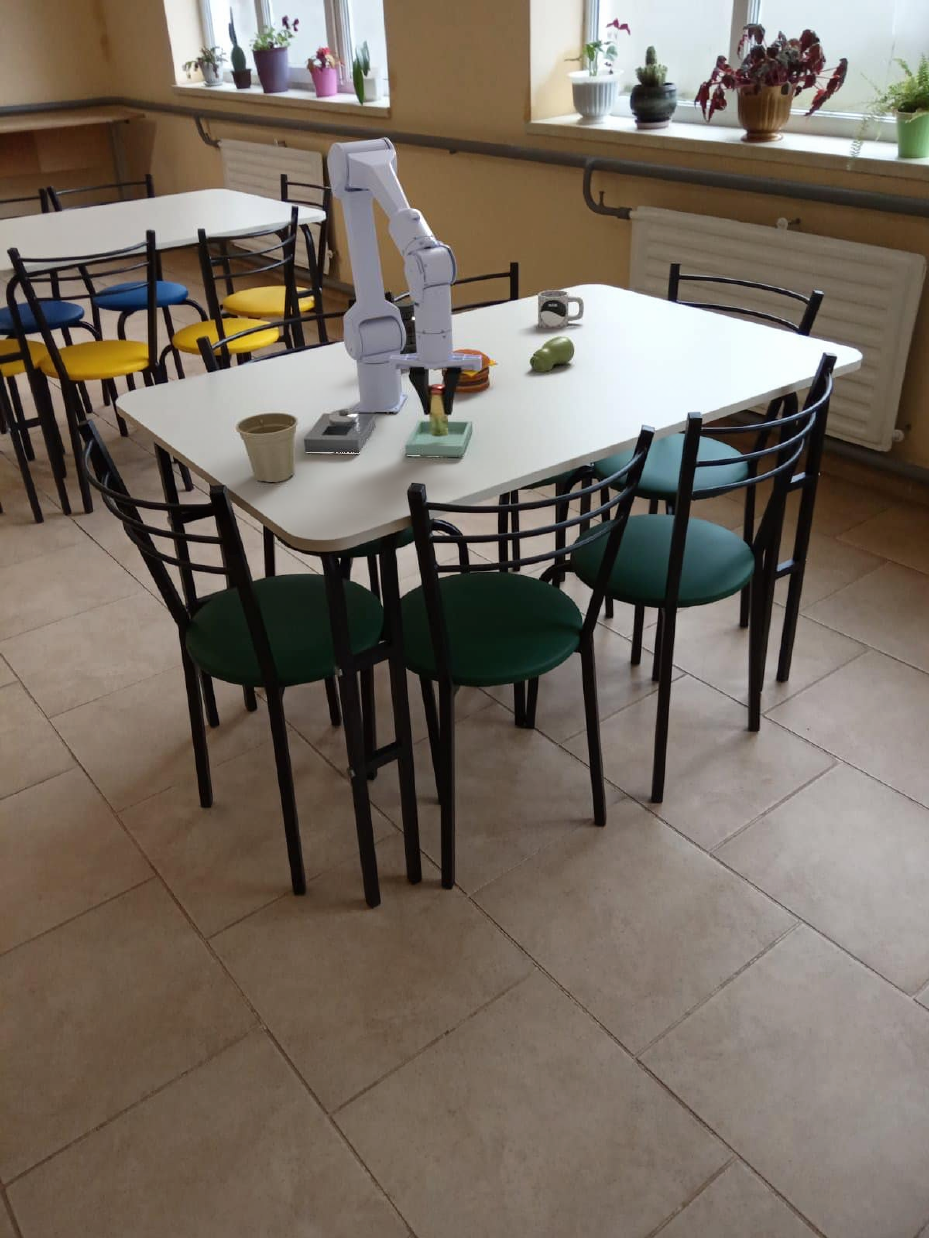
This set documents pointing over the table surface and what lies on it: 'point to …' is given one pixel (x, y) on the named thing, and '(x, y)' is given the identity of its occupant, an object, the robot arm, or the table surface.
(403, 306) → the supplement bottle
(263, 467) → the flower pot
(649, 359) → the table surface
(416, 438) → the tray
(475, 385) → the hamburger
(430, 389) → the yellow jar
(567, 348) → the pear
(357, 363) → the robot arm
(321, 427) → the block
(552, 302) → the mug
